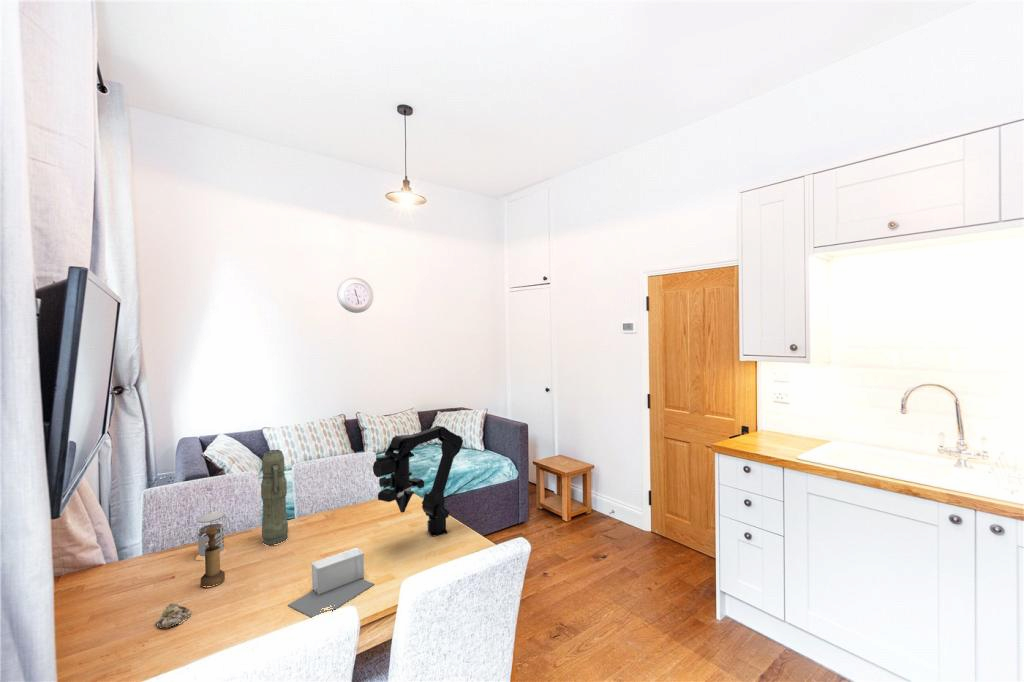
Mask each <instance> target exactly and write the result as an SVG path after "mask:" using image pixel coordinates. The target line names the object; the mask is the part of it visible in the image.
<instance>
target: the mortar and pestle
mask: <svg viewBox="0 0 1024 682" xmlns="http://www.w3.org/2000/svg"><path fill="white" fill-rule="evenodd" d="M216 533H217V528H216V527H214V526H213V527H209V528H208V529H207V531H206V533H205V535H207V536H208V537H209V541H208V543H207V544H208V545H209V547H208V548H206V549H205V561H204V562H205V564H204V568H205V571H204V574H203V575H202V576H201V577H200V586H201V585H202V586H206V587H207V586H213V585H216V584H219V583H221V582H223V580H224V579H225V580H226V573H225V571H224V570H222V569H221V556H220V546H215V545H216V540H215V535H216ZM207 536H206V537H207ZM223 583H224V582H223ZM221 584H222V583H221ZM219 585H220V584H219Z"/></svg>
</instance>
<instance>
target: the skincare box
mask: <svg viewBox="0 0 1024 682" xmlns="http://www.w3.org/2000/svg"><path fill="white" fill-rule="evenodd" d="M364 555H365V554H364V552H363V550H361V548H359V547H354V548H351V549H350V548H349V549H347V550H346V551H342V552H339V553H336V554H333V555H329V556H327V557H324V558H322V559H319V560H316V561H313V562H311V581H312V582H311V583H312V584H311V585H312V586H311V587H312V588H311V589H313V590H315V592H316V593H317V594H318V595H320V594H322V593H324V592H327V591H330V590H332V589H335V588H337V587H340V586H342V585H345V584H347V583H350V582H353V581H355V580H358V579H363V578H365V561H364V560H365V556H364Z"/></svg>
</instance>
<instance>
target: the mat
mask: <svg viewBox="0 0 1024 682" xmlns="http://www.w3.org/2000/svg"><path fill="white" fill-rule="evenodd" d="M373 586H375V583H373V582H370V581H368V580H366V579H363V578H360V579H358V580H355V581H353V582H350V583H347V584H345V585H342V586H340V587H337V588H335V589H332V590H330V591H327V592H324V593H322V594H320V595H318V594H317V593H316V592H315V590H314V589H313V590H311V591H310V592H308V593H306V594H304V595H303V596H301V597H299V598H297V599H295V600H294V601H292V602H290V603H288V604H287V606H288V607H289V608H291V609H294V610H295V611H297V612H300V613H301V614H303V615H306V616H307V617H310V618H311V617H314V616H316V615H319V614H321V613H324V612H327V611H331V610H334V609H336V610H337V609H339V608H340V607H341V605H342V606H344V605H345V604H347V603H348V602H349V601H352V600H353V599H354V598H356V597H358V596H359V595H360V593H361V594H362V593H364V592H366V591H367V590H369V589H370V588H371V587H373ZM357 595H358V596H357ZM346 602H347V603H346ZM330 605H331V606H332V607H330ZM334 605H335V606H334ZM326 607H330V608H333V609H330V608H328V609H330V610H325V611H324V609H322V608H326ZM321 609H322V610H321ZM320 611H321V612H320ZM334 611H335V610H334Z"/></svg>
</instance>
